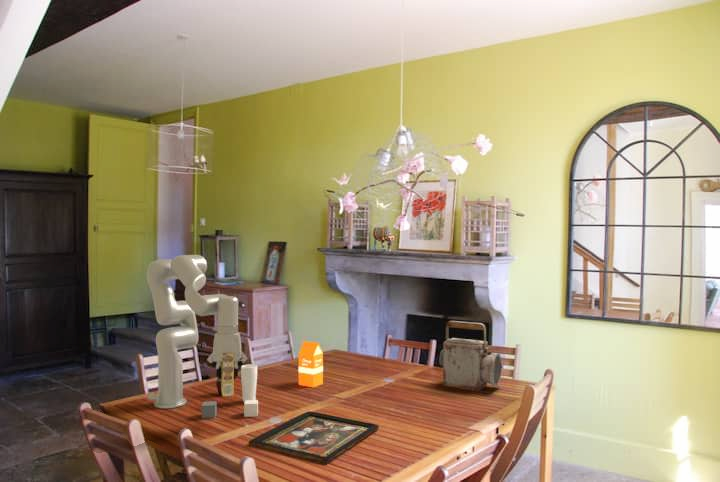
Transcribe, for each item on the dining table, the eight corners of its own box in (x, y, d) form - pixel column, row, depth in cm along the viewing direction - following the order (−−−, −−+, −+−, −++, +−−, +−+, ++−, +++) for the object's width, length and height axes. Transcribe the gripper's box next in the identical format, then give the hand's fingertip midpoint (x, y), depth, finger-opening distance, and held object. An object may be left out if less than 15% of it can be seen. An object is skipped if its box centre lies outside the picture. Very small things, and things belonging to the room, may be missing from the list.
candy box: (233, 396, 197) (234, 354, 197) (221, 396, 196) (222, 354, 196) (231, 389, 206) (232, 349, 205) (220, 390, 204) (220, 349, 204)
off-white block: (244, 417, 209) (244, 404, 209) (245, 412, 214) (245, 400, 214) (257, 416, 210) (257, 403, 210) (258, 412, 215) (258, 399, 214)
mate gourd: (235, 394, 239) (235, 360, 239) (219, 397, 233) (219, 363, 233) (226, 390, 244) (226, 357, 244) (211, 394, 239) (211, 360, 238)
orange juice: (313, 387, 250) (313, 344, 250) (298, 384, 255) (298, 342, 255) (323, 383, 257) (323, 341, 257) (308, 381, 261) (308, 339, 261)
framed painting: (298, 414, 212) (298, 407, 212) (382, 428, 199) (382, 420, 199) (241, 451, 177) (241, 442, 177) (339, 470, 164) (339, 461, 164)
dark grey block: (201, 418, 207) (201, 405, 207) (203, 414, 212) (203, 401, 212) (215, 418, 207) (215, 405, 207) (216, 414, 212) (216, 401, 212)
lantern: (493, 394, 240) (493, 327, 240) (436, 385, 254) (436, 321, 254) (502, 385, 254) (503, 322, 254) (448, 378, 268) (448, 317, 267)
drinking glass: (253, 404, 224) (253, 368, 224) (238, 403, 226) (238, 367, 226) (259, 399, 231) (259, 364, 231) (244, 398, 232) (244, 363, 232)
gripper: (202, 332, 196) (202, 382, 196) (250, 331, 198) (249, 381, 198) (205, 328, 203) (205, 376, 203) (251, 327, 205) (251, 375, 206)
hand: (227, 378), depth 201 cm, fingers closed on candy box, 4 cm apart
